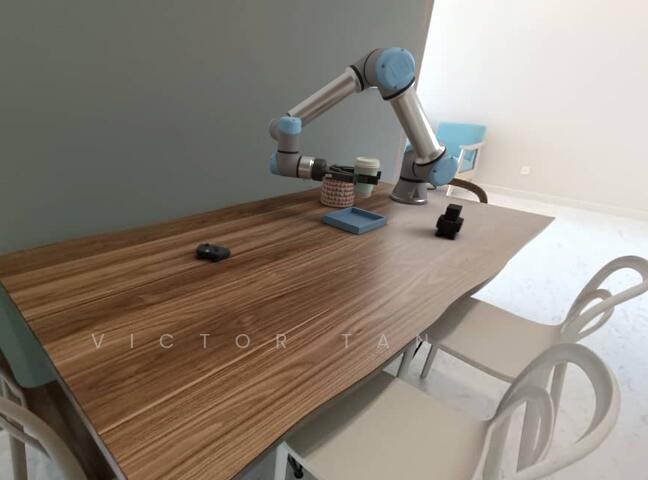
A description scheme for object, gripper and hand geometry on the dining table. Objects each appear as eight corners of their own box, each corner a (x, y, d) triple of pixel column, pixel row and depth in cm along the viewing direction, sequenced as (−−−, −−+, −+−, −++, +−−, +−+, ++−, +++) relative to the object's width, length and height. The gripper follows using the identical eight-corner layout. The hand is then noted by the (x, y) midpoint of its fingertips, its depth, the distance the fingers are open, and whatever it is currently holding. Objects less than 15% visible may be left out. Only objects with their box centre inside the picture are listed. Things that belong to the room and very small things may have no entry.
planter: (320, 197, 169) (324, 166, 162) (352, 200, 168) (357, 169, 161) (319, 206, 157) (323, 174, 151) (354, 209, 156) (359, 177, 149)
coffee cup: (376, 194, 138) (383, 159, 132) (370, 200, 131) (378, 163, 125) (352, 190, 141) (358, 155, 135) (346, 196, 134) (351, 159, 128)
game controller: (232, 251, 113) (226, 242, 107) (227, 268, 111) (220, 260, 106) (202, 245, 115) (194, 236, 109) (196, 262, 114) (188, 254, 108)
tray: (351, 212, 152) (352, 206, 151) (386, 224, 143) (387, 217, 142) (322, 221, 142) (323, 214, 140) (358, 234, 132) (359, 227, 131)
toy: (462, 229, 143) (470, 202, 138) (455, 241, 132) (464, 212, 127) (440, 224, 146) (448, 198, 141) (432, 235, 135) (440, 207, 130)
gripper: (319, 174, 148) (380, 182, 142) (304, 186, 131) (373, 197, 125) (321, 153, 144) (384, 161, 138) (306, 163, 127) (378, 172, 121)
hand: (379, 178), depth 131 cm, fingers closed on coffee cup, 8 cm apart
